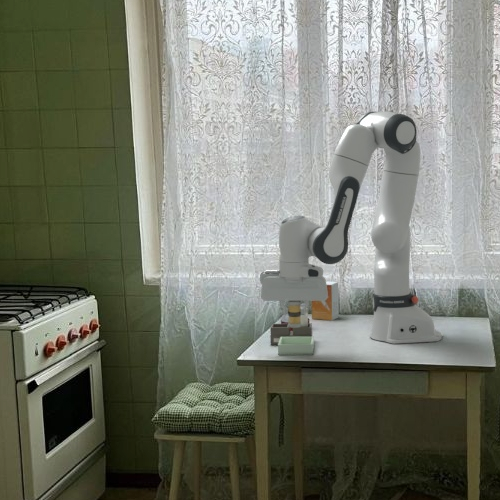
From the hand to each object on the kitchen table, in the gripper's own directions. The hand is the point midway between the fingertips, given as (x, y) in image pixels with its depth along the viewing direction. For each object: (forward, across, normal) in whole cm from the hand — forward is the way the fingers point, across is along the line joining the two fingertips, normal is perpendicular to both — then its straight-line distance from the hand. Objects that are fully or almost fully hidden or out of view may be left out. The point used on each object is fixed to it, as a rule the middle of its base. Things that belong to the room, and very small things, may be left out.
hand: (294, 314), depth 253 cm
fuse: (+8, +2, +10) cm, 13 cm away
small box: (+11, +9, +46) cm, 48 cm away
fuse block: (+11, -2, +10) cm, 15 cm away
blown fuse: (+4, 0, 0) cm, 4 cm away
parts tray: (+11, 0, 0) cm, 11 cm away
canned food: (+12, -1, +31) cm, 33 cm away
